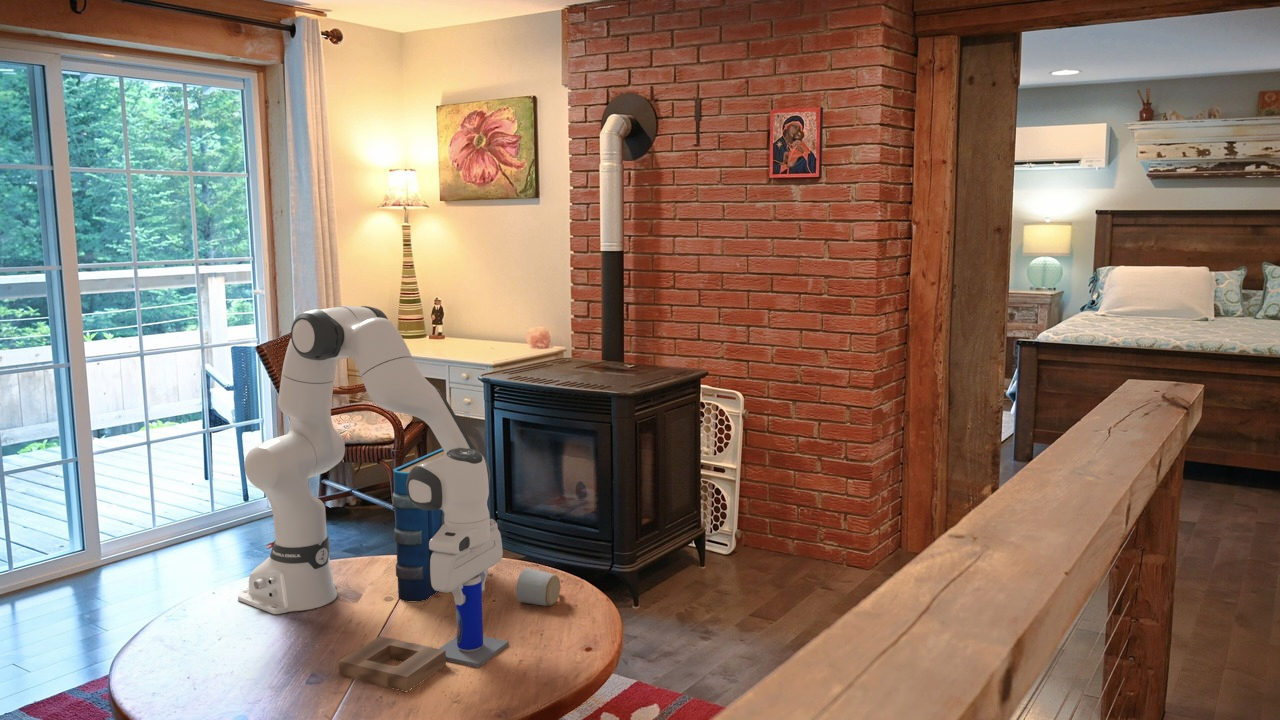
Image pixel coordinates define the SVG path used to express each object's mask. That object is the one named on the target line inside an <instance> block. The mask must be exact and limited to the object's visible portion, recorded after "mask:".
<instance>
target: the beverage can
mask: <svg viewBox="0 0 1280 720" xmlns="http://www.w3.org/2000/svg"><path fill="white" fill-rule="evenodd" d="M461 590H462V593H463V594H466V602H465V603H464V604H462V605H456V604H455V611H456V612H455V613H456V614H455V616H456V620H455V621H456V637H457V646H458V648H459V649H460V650H461V651H464V652H473V651H477V650H479V649H480V648H481V647H482V645H483V636H484V627H483V626H484V624H483V621H484V620H483V592H482V581H481V577H480V574H478V575H477V576H475V577H473V578H472V579H470V580H468V581H467V582H465V583H463V588H462V589H461Z"/></svg>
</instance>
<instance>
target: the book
mask: <svg viewBox="0 0 1280 720" xmlns="http://www.w3.org/2000/svg"><path fill="white" fill-rule="evenodd" d="M444 454H445V452H444V450H443V448H442V447H441V448H439V449H437V450H435V451H433V452H430V453H428V454H426V455H424V456H420V457H419V458H417V459H413V460H411V461H410V462H407V463H405V464H402V465H401V466H398V467H396V468H393V469H392V471H393V474H392V475H393V493H392V505H393V506H394V518H395V519H394V521H395V527H394V530H393V532H394V533H393V536H394V542H395V544H396V545H395V546H396V547H395V548H396V564H395V576H396V577H397V593H398V594H397V595H398V596H397V597H398V599H399V600H400V599H401V600H400V601H403V600H404V602H408V601H421V602H423V601H422V600H425V601H427V600H429V599H430V598H431V597H430V596H432V595H433V594H434V595H436V594H437V593H439V592H438V591H435V590H434V589H433V587H432V585H431V575H430V559H431V555H432V553H433V552H434V551H433V550H430V549H429V541H430V540H431V538H432V537H433V536H434V535H435V534H436V533H437V532H438V531H439V529H440V528H441V526H442V525H443V524H444V515H445V514H444V511H443V510H421V509H419V508H418V507H416V506H415V505H414V504H413V503H412V502H411V500H410V499H409V496H408V493H407V486H406V484H407V478H408V475H409V473H410V471H411V469H412V468H413V467H415V466H418V465H420V464H422V463H426V462H429V461H433V460H436V459H438V458H440V457H442V456H444ZM436 592H437V593H436ZM435 593H436V594H435ZM434 595H433V596H434ZM433 596H432V597H433ZM429 597H430V598H429ZM428 598H429V599H428ZM426 599H427V600H426Z"/></svg>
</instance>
